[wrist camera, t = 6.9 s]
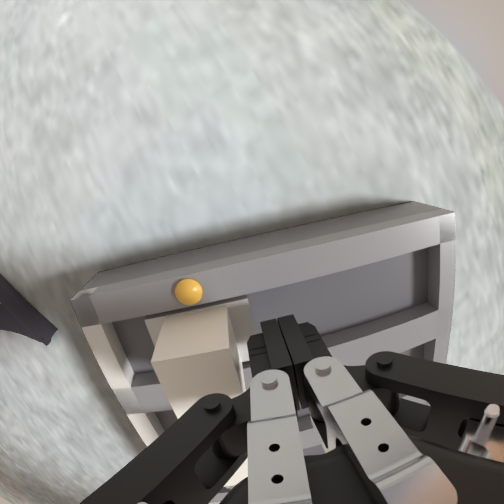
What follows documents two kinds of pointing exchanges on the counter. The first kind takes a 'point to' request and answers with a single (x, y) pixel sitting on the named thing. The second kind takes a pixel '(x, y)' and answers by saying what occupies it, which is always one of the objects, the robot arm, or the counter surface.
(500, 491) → the robot arm
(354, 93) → the counter surface
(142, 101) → the counter surface
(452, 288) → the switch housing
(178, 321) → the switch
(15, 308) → the bracket
